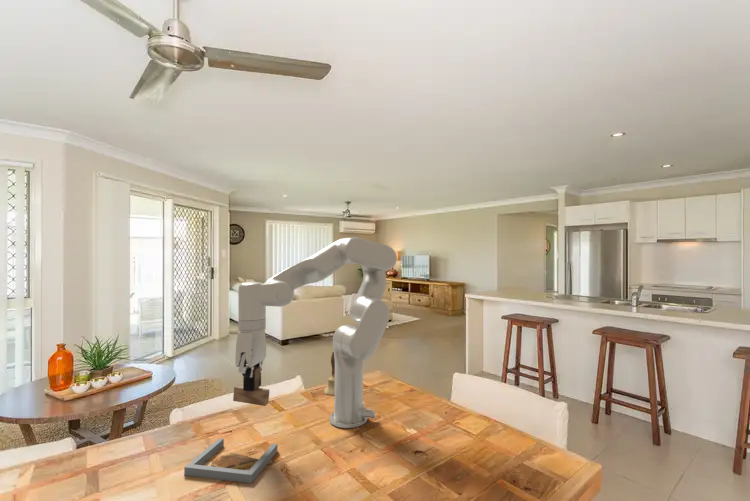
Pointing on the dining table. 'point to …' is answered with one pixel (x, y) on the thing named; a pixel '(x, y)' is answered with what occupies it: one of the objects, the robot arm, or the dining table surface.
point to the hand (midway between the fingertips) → (252, 387)
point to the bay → (237, 475)
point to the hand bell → (331, 379)
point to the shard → (234, 461)
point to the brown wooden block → (252, 392)
